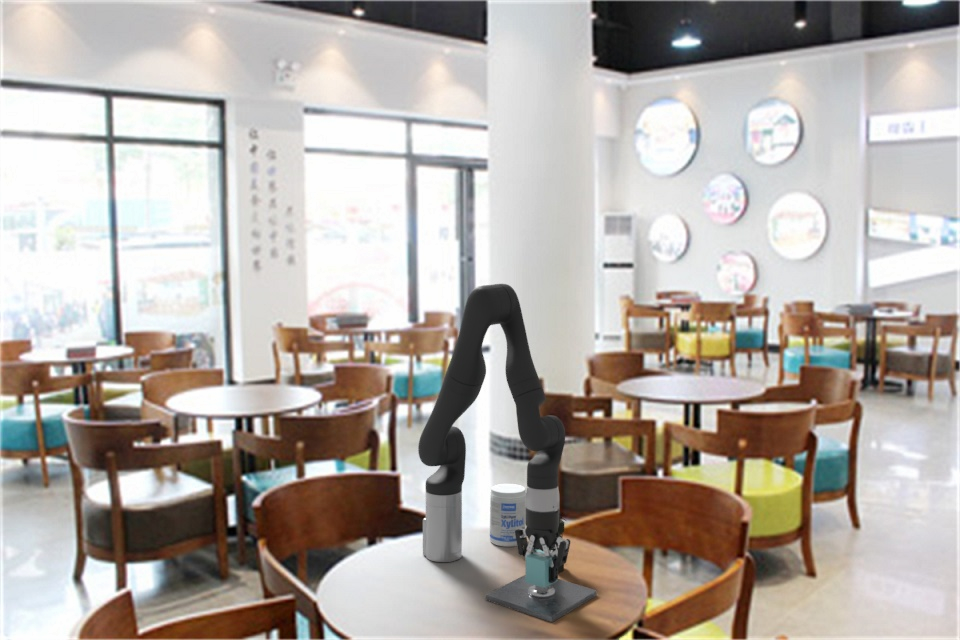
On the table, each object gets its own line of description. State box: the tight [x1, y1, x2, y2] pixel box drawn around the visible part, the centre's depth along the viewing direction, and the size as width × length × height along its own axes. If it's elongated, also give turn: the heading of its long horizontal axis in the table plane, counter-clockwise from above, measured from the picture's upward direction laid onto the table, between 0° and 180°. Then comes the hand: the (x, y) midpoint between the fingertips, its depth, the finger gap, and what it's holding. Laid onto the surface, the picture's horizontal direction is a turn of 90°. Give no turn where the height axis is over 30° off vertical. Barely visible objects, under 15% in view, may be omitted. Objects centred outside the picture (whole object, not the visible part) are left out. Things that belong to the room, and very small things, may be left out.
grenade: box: [549, 509, 567, 573], centre depth 212 cm, size 6×6×15 cm
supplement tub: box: [489, 483, 527, 548], centre depth 232 cm, size 10×10×15 cm
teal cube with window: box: [525, 549, 559, 588], centre depth 196 cm, size 5×5×6 cm
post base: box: [485, 574, 598, 623], centre depth 196 cm, size 18×18×6 cm
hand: (542, 578), depth 196 cm, fingers closed on teal cube with window, 5 cm apart
